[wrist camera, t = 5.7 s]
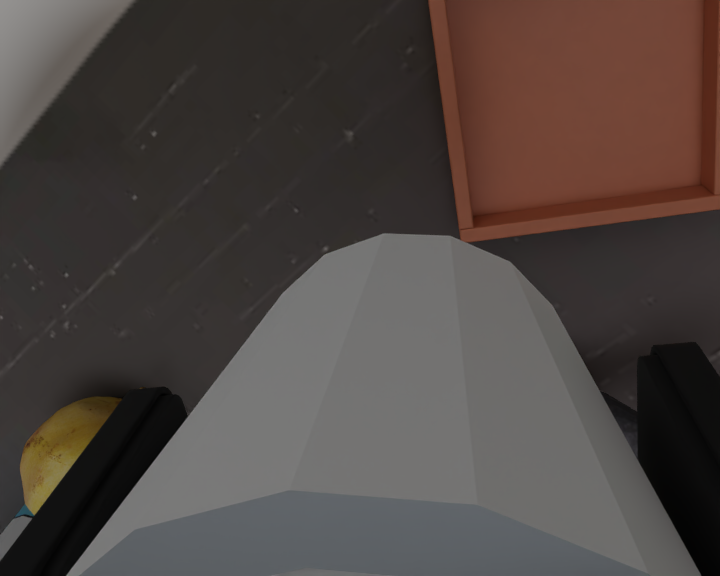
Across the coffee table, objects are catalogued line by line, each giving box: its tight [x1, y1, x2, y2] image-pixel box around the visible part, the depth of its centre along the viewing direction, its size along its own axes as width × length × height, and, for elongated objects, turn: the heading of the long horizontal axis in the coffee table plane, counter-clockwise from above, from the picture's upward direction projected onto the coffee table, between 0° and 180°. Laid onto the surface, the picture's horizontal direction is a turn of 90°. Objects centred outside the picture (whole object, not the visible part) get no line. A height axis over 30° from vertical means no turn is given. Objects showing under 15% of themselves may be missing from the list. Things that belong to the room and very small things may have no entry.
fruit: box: [20, 387, 145, 515], centre depth 33 cm, size 7×7×10 cm
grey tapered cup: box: [66, 233, 701, 576], centre depth 9 cm, size 7×7×7 cm
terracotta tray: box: [428, 0, 720, 243], centre depth 25 cm, size 10×10×2 cm
